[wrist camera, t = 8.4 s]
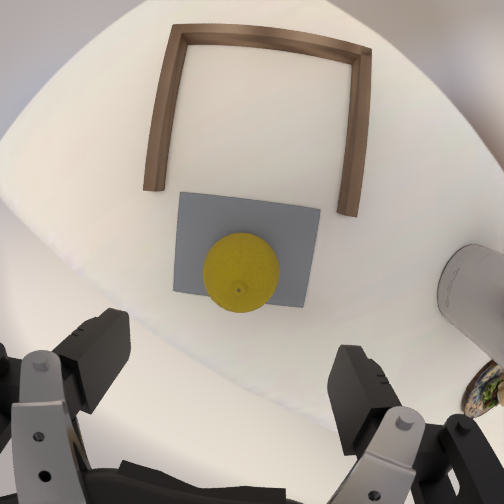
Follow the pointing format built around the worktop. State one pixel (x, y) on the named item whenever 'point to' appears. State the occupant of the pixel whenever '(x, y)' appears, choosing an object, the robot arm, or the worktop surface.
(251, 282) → the lemon
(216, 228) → the mat
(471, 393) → the burger
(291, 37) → the bay
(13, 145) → the worktop surface
